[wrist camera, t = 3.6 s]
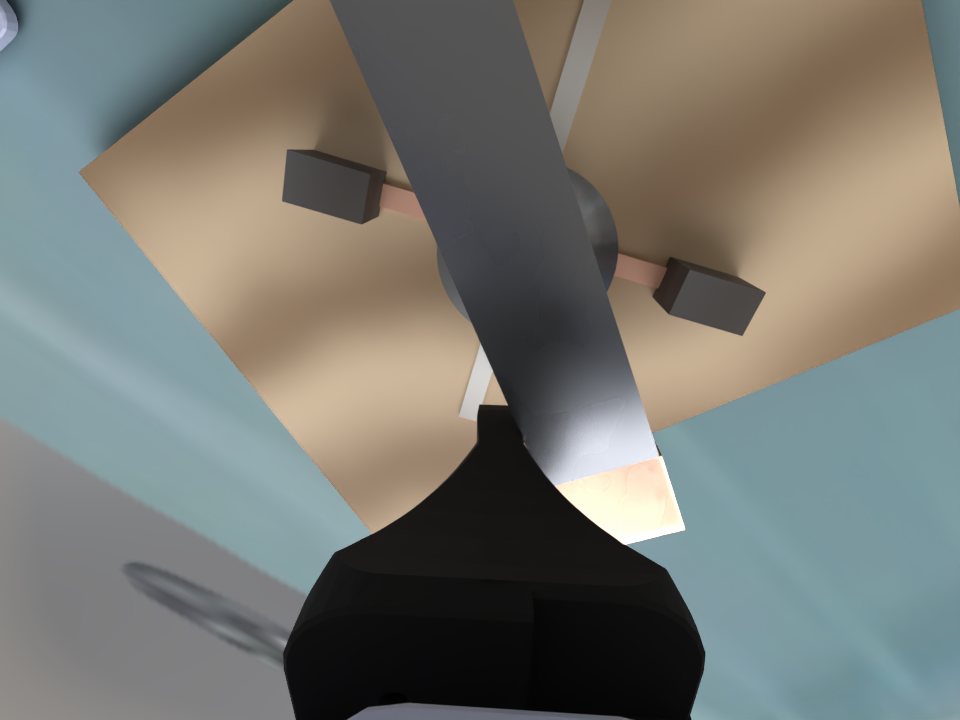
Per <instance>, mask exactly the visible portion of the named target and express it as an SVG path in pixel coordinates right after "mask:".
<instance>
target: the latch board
mask: <svg viewBox="0 0 960 720" xmlns="http://www.w3.org/2000/svg"><path fill="white" fill-rule="evenodd" d="M513 2H514V5H515V8H516V11H517V14H518V17H519V20H520V23H521V26H522V30H523V33H524V36H525V39H526V42H527V45H528V48H529V51H530V55H531V58H532V61H533V64H534V67H535V70H536V73H537V76H538V80H539V83H540V86H541V89H542V92H543V95H544V98H545V101H546V104H547V108H548V111H549V114H550V117H551V120H552V123H553V126H554V129H555V133H556V136H557V139H558V142H559V145H560V148H561V151H562V154H563V158H564V161H565V164H566V167H568V168H569V169H571V170H573V171H575V172H577V173H578V174H580V175H581V176H582V177H584V178H585V179H586V180H588V181H589V182H590V183H591V184H592V185H593V186H594V187H595V188H596V189H597V190H598V192H599V193H600V194H601V196H602V197H603V198H604V200H605V202H606V203H607V205H608V207H609V209H610V211H611V214H612V216H613V219H614V222H615V226H616V230H617V235H618V260H617V266H616V271H615V274H614V277H613V280H612V283H611V285H610V287H609V289H608V291H607V295H608V298H609V301H610V304H611V307H612V310H613V314H614V317H615V320H616V323H617V326H618V329H619V332H620V335H621V338H622V342H623V345H624V348H625V351H626V354H627V357H628V360H629V363H630V367H631V370H632V373H633V376H634V379H635V382H636V385H637V388H638V392H639V395H640V398H641V401H642V404H643V407H644V410H645V413H646V416H647V420H648V423H649V426H650V429H651V432H652V433H654V432H656V431H659V430H661V429H664V428H666V427H669V426H671V425H674V424H676V423H678V422H681V421H683V420H686V419H688V418H691V417H693V416H696V415H698V414H701V413H703V412H706V411H708V410H711V409H713V408H716V407H718V406H720V405H723V404H725V403H728V402H730V401H733V400H735V399H738V398H740V397H743V396H745V395H748V394H750V393H753V392H755V391H758V390H760V389H762V388H765V387H767V386H770V385H772V384H775V383H777V382H780V381H782V380H785V379H787V378H790V377H792V376H795V375H797V374H800V373H802V372H805V371H807V370H809V369H812V368H814V367H817V366H819V365H822V364H824V363H827V362H829V361H832V360H834V359H837V358H839V357H842V356H844V355H847V354H849V353H851V352H854V351H856V350H859V349H861V348H864V347H866V346H869V345H871V344H874V343H876V342H879V341H881V340H884V339H886V338H889V337H891V336H893V335H896V334H898V333H901V332H903V331H906V330H908V329H911V328H913V327H916V326H918V325H921V324H923V323H926V322H928V321H931V320H933V319H935V318H938V317H940V316H943V315H945V314H948V313H950V312H953V311H955V310H958V309H960V206H959V201H958V195H957V190H956V184H955V179H954V173H953V168H952V163H951V157H950V152H949V146H948V141H947V135H946V130H945V125H944V119H943V114H942V108H941V103H940V97H939V92H938V87H937V81H936V76H935V70H934V65H933V59H932V54H931V49H930V43H929V38H928V32H927V27H926V21H925V16H924V10H923V5H922V0H513ZM79 174H80V175H81V176H82V177H83V178H84V180H85V181H86V182H87V183H88V185H89V186H90V187H91V188H92V190H93V191H94V192H95V193H96V194H97V196H98V197H99V198H100V199H101V201H102V202H103V203H104V204H105V206H106V207H107V208H108V209H109V211H110V212H111V213H112V214H113V215H114V217H115V218H116V219H117V220H118V222H119V223H120V224H121V225H122V227H123V228H124V229H125V230H126V231H127V233H128V234H129V235H130V236H131V238H132V239H133V240H134V241H135V243H136V244H137V245H138V246H139V247H140V249H141V250H142V251H143V252H144V254H145V255H146V256H147V257H148V259H149V260H150V261H151V262H152V263H153V265H154V266H155V267H156V268H157V270H158V271H159V272H160V273H161V275H162V276H163V277H164V278H165V279H166V281H167V282H168V283H169V284H170V286H171V287H172V288H173V289H174V291H175V292H176V293H177V294H178V295H179V297H180V298H181V299H182V300H183V302H184V303H185V304H186V305H187V307H188V308H189V309H190V310H191V312H192V313H193V314H194V315H195V316H196V318H197V319H198V320H199V321H200V323H201V324H202V325H203V326H204V328H205V329H206V330H207V331H208V332H209V334H210V335H211V336H212V337H213V339H214V340H215V341H216V342H217V344H218V345H219V346H220V347H221V348H222V350H223V351H224V352H225V353H226V355H227V356H228V357H229V358H230V360H231V361H232V362H233V363H234V364H235V366H236V367H237V368H238V369H239V371H240V372H241V373H242V374H243V376H244V377H245V378H246V379H247V380H248V382H249V383H250V384H251V385H252V387H253V388H254V389H255V390H256V392H257V393H258V394H259V395H260V397H261V398H262V399H263V400H264V401H265V403H266V404H267V405H268V406H269V408H270V409H271V410H272V411H273V413H274V414H275V415H276V416H277V417H278V419H279V420H280V421H281V422H282V424H283V425H284V426H285V427H286V429H287V430H288V431H289V432H290V433H291V435H292V436H293V437H294V438H295V440H296V441H297V442H298V443H299V445H300V446H301V447H302V448H303V449H304V451H305V452H306V453H307V454H308V456H309V457H310V458H311V459H312V461H313V462H314V463H315V464H316V465H317V467H318V468H319V469H320V470H321V472H322V473H323V474H324V475H325V477H326V478H327V479H328V480H329V481H330V483H331V484H332V485H333V486H334V488H335V489H336V490H337V491H338V493H339V494H340V495H341V496H342V498H343V499H344V500H345V501H346V502H347V504H348V505H349V506H350V507H351V509H352V510H353V511H354V512H355V514H356V515H357V516H358V517H359V518H360V520H361V521H362V522H363V523H364V525H365V526H366V527H367V528H368V530H369V531H370V532H371V533H372V534H373V533H375V532H377V531H379V530H380V529H382V528H384V527H386V526H387V525H389V524H390V523H392V522H394V521H395V520H397V519H398V518H400V517H401V516H403V515H404V514H406V513H407V512H409V511H410V510H411V509H413V508H414V507H415V506H417V505H418V504H419V503H421V502H422V501H423V500H424V499H425V498H426V497H427V496H429V495H430V494H431V493H432V492H433V491H434V490H436V489H437V488H438V487H439V486H440V485H441V484H442V483H443V482H444V481H445V480H446V479H447V478H448V477H449V476H450V475H451V474H452V473H453V472H454V470H455V469H456V468H457V467H458V466H459V465H460V464H461V462H462V461H463V460H464V458H465V457H466V456H467V455H468V453H469V452H470V451H471V450H472V448H473V447H474V446H475V444H476V443H477V413H478V408H479V404H485V405H508V404H507V402H506V400H505V398H504V395H503V393H502V391H501V388H500V386H499V384H498V382H497V379H496V377H495V375H494V373H493V370H492V368H491V366H490V363H489V361H488V359H487V357H486V354H485V352H484V350H483V348H482V345H481V343H480V341H479V338H478V336H477V334H476V332H475V329H474V327H473V325H472V323H471V322H470V321H468V320H467V319H466V318H465V317H464V316H463V315H462V314H461V313H460V312H459V311H458V310H457V309H456V307H455V306H454V305H453V303H452V302H451V300H450V299H449V297H448V295H447V293H446V291H445V289H444V287H443V284H442V281H441V279H440V274H439V270H438V264H437V243H436V241H435V239H434V236H433V234H432V232H431V229H430V227H429V225H428V223H427V220H426V218H425V216H424V214H423V211H422V209H421V207H420V205H419V202H418V200H417V198H416V195H415V193H414V191H413V189H412V186H411V184H410V182H409V180H408V177H407V175H406V173H405V170H404V168H403V166H402V164H401V161H400V159H399V157H398V155H397V152H396V150H395V148H394V145H393V143H392V141H391V139H390V136H389V134H388V132H387V130H386V127H385V125H384V123H383V120H382V118H381V116H380V114H379V111H378V109H377V107H376V105H375V102H374V100H373V98H372V96H371V93H370V91H369V89H368V86H367V84H366V82H365V80H364V77H363V75H362V73H361V71H360V68H359V66H358V64H357V61H356V59H355V57H354V55H353V52H352V50H351V48H350V46H349V43H348V41H347V39H346V36H345V34H344V32H343V30H342V27H341V25H340V23H339V21H338V18H337V16H336V14H335V11H334V9H333V7H332V5H331V2H330V0H293V1H292V2H291V3H289V4H288V5H287V6H286V7H284V8H283V9H282V10H281V11H279V12H278V13H277V14H276V15H274V16H273V17H272V18H271V19H269V20H268V21H267V22H266V23H264V24H263V25H262V26H261V27H259V28H258V29H257V30H256V31H254V32H253V33H252V34H251V35H249V36H248V37H247V38H246V39H244V40H243V41H242V42H241V43H239V44H238V45H237V46H236V47H234V48H233V49H232V50H231V51H229V52H228V53H227V54H226V55H224V56H223V57H222V58H221V59H219V60H218V61H217V62H216V63H214V64H213V65H212V66H211V67H209V68H208V69H207V70H206V71H204V72H203V73H202V74H201V75H199V76H198V77H197V78H196V79H194V80H193V81H192V82H191V83H189V84H188V85H187V86H186V87H184V88H183V89H182V90H181V91H179V92H178V93H177V94H176V95H174V96H173V97H172V98H171V99H169V100H168V101H167V102H166V103H164V104H163V105H162V106H161V107H159V108H158V109H157V110H156V111H154V112H153V113H152V114H151V115H149V116H148V117H147V118H146V119H144V120H143V121H142V122H141V123H139V124H138V125H137V126H136V127H134V128H133V129H132V130H131V131H129V132H128V133H127V134H126V135H124V136H123V137H122V138H121V139H119V140H118V141H117V142H116V143H114V144H113V145H112V146H111V147H109V148H108V149H107V150H106V151H104V152H103V153H102V154H101V155H99V156H98V157H97V158H96V159H94V160H93V161H92V162H91V163H89V164H88V165H87V166H86V167H84V168H83V169H82V170H81V171H79ZM524 445H525V443H524ZM525 446H526V445H525ZM526 448H527V447H526Z"/></svg>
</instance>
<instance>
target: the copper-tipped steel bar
mask: <svg viewBox="0 0 960 720" xmlns="http://www.w3.org/2000/svg"><path fill="white" fill-rule="evenodd" d="M330 2H331V5H332V7H333V9H334V11H335V14H336V16H337V18H338V21H339V23H340V25H341V27H342V30H343V32H344V34H345V36H346V39H347V41H348V43H349V46H350V48H351V50H352V52H353V55H354V57H355V59H356V61H357V64H358V66H359V68H360V71H361V73H362V75H363V77H364V80H365V82H366V84H367V86H368V89H369V91H370V93H371V96H372V98H373V100H374V102H375V105H376V107H377V109H378V111H379V114H380V116H381V118H382V120H383V123H384V125H385V127H386V130H387V132H388V134H389V136H390V139H391V141H392V143H393V145H394V148H395V150H396V152H397V155H398V157H399V159H400V161H401V164H402V166H403V168H404V170H405V173H406V175H407V177H408V180H409V182H410V184H411V186H412V189H413V191H414V193H415V195H416V198H417V200H418V202H419V205H420V207H421V209H422V211H423V214H424V216H425V218H426V220H427V223H428V225H429V227H430V229H431V232H432V234H433V236H434V239H435V241H436V243H437V264H438V270H439V274H440V279H441V281H442V284H443V287H444V289H445V291H446V293H447V295H448V297H449V299H450V300H451V302H452V303H453V305H454V306H455V307H456V309H457V310H458V311H459V312H460V313H461V314H462V315H463V316H464V317H465V318H466V319H467V320H468V321H470V322H471V323H472V325H473V327H474V329H475V332H476V334H477V336H478V338H479V341H480V343H481V345H482V348H483V350H484V352H485V354H486V357H487V359H488V361H489V363H490V366H491V368H492V370H493V373H494V375H495V377H496V379H497V382H498V384H499V386H500V388H501V391H502V393H503V395H504V398H505V400H506V402H507V404H508V407H509V409H510V411H511V413H512V416H513V418H514V420H515V423H516V425H517V427H518V429H519V432H520V434H521V435H523V441H524V443H525V445H526V447H527V450H528V451H529V453H530V454H531V456H532V457H533V459H534V460H535V462H536V463H537V464H538V466H539V467H540V468H541V470H542V471H543V472H544V474H545V475H546V476H547V477H548V479H549V480H550V481H551V482H552V483H553V484H554V486H555V487H556V488H557V489H558V490H559V491H560V492H561V493H562V494H563V495H564V496H565V497H566V498H567V499H568V500H569V501H570V502H571V503H572V504H573V505H574V506H575V507H576V508H577V509H579V510H580V511H581V512H582V513H583V514H584V515H586V516H587V517H588V518H589V519H590V520H591V521H593V522H594V523H595V524H597V525H598V526H599V527H600V528H602V529H603V530H605V531H606V532H607V533H609V534H610V535H612V536H613V537H614V538H616V539H617V540H619V541H620V542H622V543H623V544H629V543H633V542H637V541H641V540H645V539H649V538H653V537H657V536H661V535H665V534H669V533H673V532H677V531H681V530H685V527H684V524H683V521H682V518H681V514H680V511H679V508H678V505H677V502H676V499H675V496H674V492H673V489H672V486H671V483H670V480H669V477H668V474H667V470H666V467H665V464H664V461H663V458H662V455H661V453H660V451H659V449H658V447H657V445H656V443H655V441H654V438H653V435H652V432H651V429H650V426H649V423H648V420H647V416H646V413H645V410H644V407H643V404H642V401H641V398H640V395H639V392H638V388H637V385H636V382H635V379H634V376H633V373H632V370H631V367H630V363H629V360H628V357H627V354H626V351H625V348H624V345H623V342H622V338H621V335H620V332H619V329H618V326H617V323H616V320H615V317H614V314H613V310H612V307H611V304H610V301H609V298H608V295H607V291H608V289H609V287H610V285H611V283H612V280H613V277H614V274H615V271H616V266H617V260H618V235H617V230H616V226H615V222H614V219H613V216H612V214H611V211H610V209H609V207H608V205H607V203H606V202H605V200H604V198H603V197H602V196H601V194H600V193H599V192H598V190H597V189H596V188H595V187H594V186H593V185H592V184H591V183H590V182H589V181H588V180H586V179H585V178H584V177H582V176H581V175H580V174H578V173H577V172H575V171H573V170H571V169H569V168H568V167H566V164H565V161H564V158H563V154H562V151H561V148H560V145H559V142H558V139H557V136H556V133H555V129H554V126H553V123H552V120H551V117H550V114H549V111H548V108H547V104H546V101H545V98H544V95H543V92H542V89H541V86H540V83H539V80H538V76H537V73H536V70H535V67H534V64H533V61H532V58H531V55H530V51H529V48H528V45H527V42H526V39H525V36H524V33H523V30H522V26H521V23H520V20H519V17H518V14H517V11H516V8H515V5H514V2H513V0H330Z"/></svg>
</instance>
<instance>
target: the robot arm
mask: <svg viewBox="0 0 960 720" xmlns="http://www.w3.org/2000/svg"><path fill="white" fill-rule="evenodd" d="M17 33H18V21H17V18H16V15H15V13H14V11H13V10H12V8H11V6H10V5H9V4H8V2H7V1H6V0H0V51H1V50H2V49H4V48H5V47H6V46H7V45H8V44H9V43H10V42H11V41H12V40H13V39H14V38H15V36H16V34H17ZM283 657H284V672H285V676H286V680H287V684H288V689H289V693H290V697H291V701H292V705H293V709H294V714H295V718H296V720H691V717H690V714H691V710H692V707H693V704H694V701H695V697H696V694H697V691H698V688H699V684H700V681H701V678H702V675H703V671H704V663H705V651H704V648H703V644H702V641H701V638H700V635H699V632H698V630H697V627H696V624H695V622H694V620H693V617H692V615H691V613H690V611H689V609H688V607H687V605H686V604H685V602H684V600H683V598H682V596H681V594H680V593H679V591H678V589H677V587H676V585H675V584H674V582H673V580H672V578H671V576H670V575H669V573H668V571H667V570H666V569H665V568H663V567H662V566H660V565H658V564H657V563H655V562H653V561H652V560H650V559H648V558H647V557H645V556H643V555H641V554H640V553H638V552H636V551H635V550H633V549H631V548H630V547H628V546H626V545H625V544H623V543H622V542H620V541H619V540H617V539H616V538H614V537H613V536H612V535H610V534H609V533H607V532H606V531H605V530H603V529H602V528H600V527H599V526H598V525H597V524H595V523H594V522H593V521H591V520H590V519H589V518H588V517H587V516H586V515H584V514H583V513H582V512H581V511H580V510H579V509H577V508H576V507H575V506H574V505H573V504H572V503H571V502H570V501H569V500H568V499H567V498H566V497H565V496H564V495H563V494H562V493H561V492H560V491H559V490H558V489H557V488H556V487H555V486H554V484H553V483H552V482H551V481H550V480H549V479H548V477H547V476H546V475H545V474H544V472H543V471H542V470H541V468H540V467H539V466H538V464H537V463H536V462H535V460H534V459H533V457H532V456H531V454H530V453H529V451H528V450H527V448H526V446H525V445H524V441H523V435H521V434H520V432H519V429H518V427H517V425H516V423H515V420H514V418H513V416H512V413H511V411H510V409H509V407H508V405H485V404H479V408H478V413H477V443H476V444H475V446H474V447H473V448H472V450H471V451H470V452H469V453H468V455H467V456H466V457H465V458H464V460H463V461H462V462H461V464H460V465H459V466H458V467H457V468H456V469H455V470H454V472H453V473H452V474H451V475H450V476H449V477H448V478H447V479H446V480H445V481H444V482H443V483H442V484H441V485H440V486H439V487H438V488H437V489H436V490H434V491H433V492H432V493H431V494H430V495H429V496H427V497H426V498H425V499H424V500H423V501H422V502H421V503H419V504H418V505H417V506H415V507H414V508H413V509H411V510H410V511H409V512H407V513H406V514H404V515H403V516H401V517H400V518H398V519H397V520H395V521H394V522H392V523H390V524H389V525H387V526H386V527H384V528H382V529H380V530H379V531H377V532H375V533H373V534H371V535H369V536H367V537H365V538H363V539H361V540H360V541H358V542H356V543H354V544H352V545H350V546H348V547H346V548H344V549H341V550H339V551H337V552H335V553H334V554H333V556H332V557H331V559H330V560H329V562H328V563H327V565H326V567H325V568H324V570H323V571H322V573H321V575H320V576H319V578H318V580H317V581H316V583H315V584H314V586H313V588H312V589H311V591H310V593H309V595H308V597H307V599H306V601H305V603H304V605H303V607H302V609H301V612H300V614H299V616H298V619H297V621H296V623H295V626H294V628H293V630H292V632H291V635H290V637H289V639H288V642H287V645H286V647H285V650H284V652H283Z"/></svg>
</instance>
